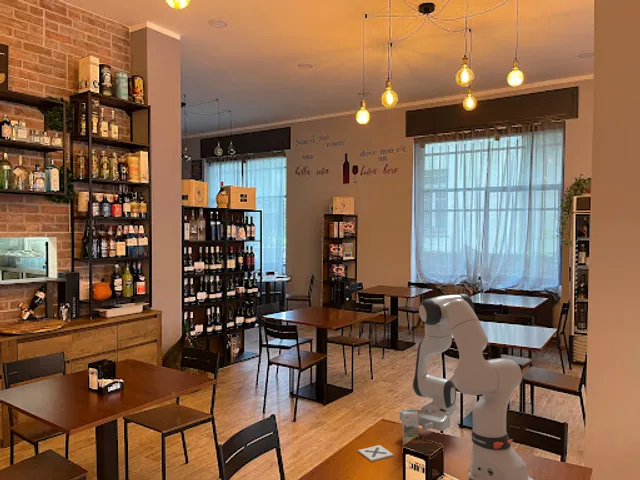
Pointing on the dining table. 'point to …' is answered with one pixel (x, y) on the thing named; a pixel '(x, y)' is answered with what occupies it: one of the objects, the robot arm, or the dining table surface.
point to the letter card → (375, 453)
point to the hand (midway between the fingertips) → (413, 424)
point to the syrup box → (409, 424)
